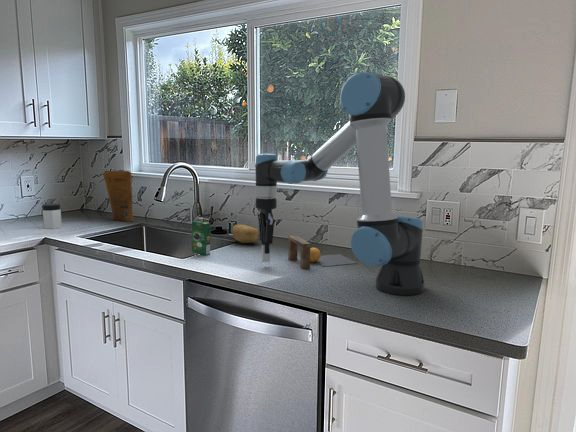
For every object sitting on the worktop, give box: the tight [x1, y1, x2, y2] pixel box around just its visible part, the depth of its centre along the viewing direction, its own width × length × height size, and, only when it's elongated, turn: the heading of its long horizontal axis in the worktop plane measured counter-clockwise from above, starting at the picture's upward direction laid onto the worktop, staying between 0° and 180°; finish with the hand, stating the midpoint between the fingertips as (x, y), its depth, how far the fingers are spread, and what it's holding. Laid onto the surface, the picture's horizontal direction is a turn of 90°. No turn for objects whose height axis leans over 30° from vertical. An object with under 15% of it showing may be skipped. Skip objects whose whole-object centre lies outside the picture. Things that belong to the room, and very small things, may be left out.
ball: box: [310, 247, 322, 263], centre depth 170 cm, size 6×6×6 cm
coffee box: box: [191, 220, 211, 256], centre depth 180 cm, size 8×3×13 cm, turn 57°
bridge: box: [287, 234, 312, 270], centre depth 167 cm, size 3×14×9 cm, turn 21°
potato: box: [231, 224, 260, 244], centre depth 200 cm, size 10×14×8 cm
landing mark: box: [315, 253, 358, 268], centre depth 173 cm, size 14×14×1 cm
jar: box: [41, 202, 63, 230], centre depth 228 cm, size 9×8×12 cm
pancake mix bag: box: [102, 170, 134, 223], centre depth 249 cm, size 7×19×28 cm, turn 64°
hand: (265, 261), depth 163 cm, fingers closed
